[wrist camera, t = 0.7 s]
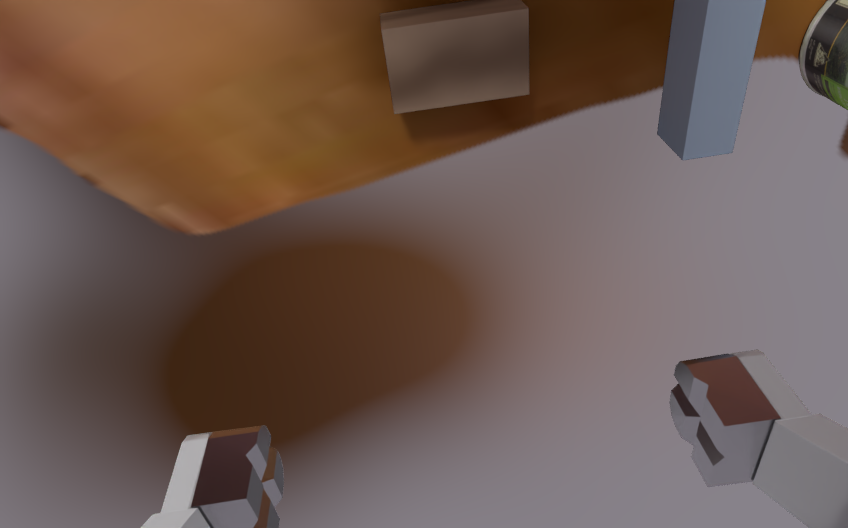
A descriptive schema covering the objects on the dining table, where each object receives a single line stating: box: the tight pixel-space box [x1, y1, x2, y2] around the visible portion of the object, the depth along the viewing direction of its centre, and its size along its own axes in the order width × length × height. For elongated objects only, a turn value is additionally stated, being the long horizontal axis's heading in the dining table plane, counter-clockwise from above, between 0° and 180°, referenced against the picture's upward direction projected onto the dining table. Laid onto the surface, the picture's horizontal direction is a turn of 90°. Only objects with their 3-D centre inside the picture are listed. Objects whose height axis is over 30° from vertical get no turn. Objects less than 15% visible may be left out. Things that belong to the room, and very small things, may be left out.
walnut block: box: [380, 0, 529, 114], centre depth 43 cm, size 6×10×4 cm, turn 97°
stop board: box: [657, 0, 766, 160], centre depth 43 cm, size 20×4×5 cm, turn 7°
